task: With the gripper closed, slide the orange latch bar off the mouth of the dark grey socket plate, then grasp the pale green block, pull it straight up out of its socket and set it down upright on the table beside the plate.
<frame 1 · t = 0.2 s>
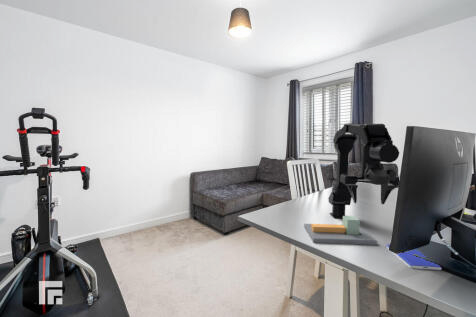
hand: (368, 203, 77), 14 cm above the table, tool pointing down, fingers open, 9 cm apart
socket plate: (337, 235, 84), on the table
hard drive: (410, 259, 68), on the table
latch bar: (328, 228, 84), point 3 cm above the table, slide at 0.0 cm
pale green block: (350, 235, 84), resting in socket plate
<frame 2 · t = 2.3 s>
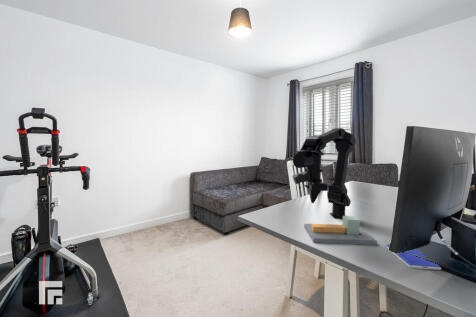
hand: (312, 202, 92), 10 cm above the table, tool pointing down, fingers closed
nothing on the table moved.
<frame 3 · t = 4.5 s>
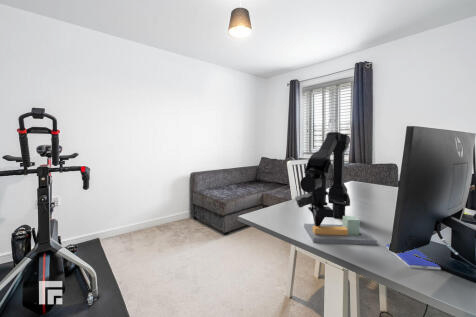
hand: (316, 227, 84), 3 cm above the table, tool pointing down, fingers closed
latch bar: (329, 230, 82), point 3 cm above the table, slide at 2.1 cm, touching gripper
everything else where it was.
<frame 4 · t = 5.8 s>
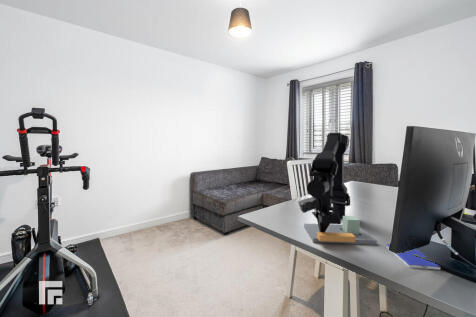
hand: (321, 233, 79), 3 cm above the table, tool pointing down, fingers closed
latch bar: (335, 237, 76), point 3 cm above the table, slide at 7.8 cm, touching gripper
everything else where it was.
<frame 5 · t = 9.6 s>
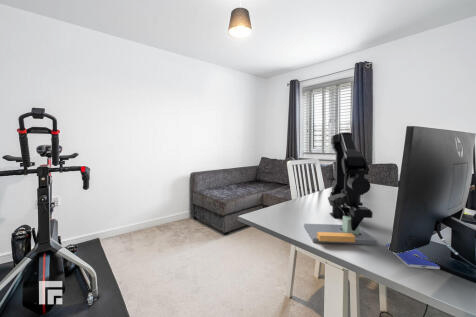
hand: (350, 227, 83), 3 cm above the table, tool pointing down, fingers closed on pale green block, 4 cm apart
latch bar: (335, 237, 76), point 3 cm above the table, slide at 7.8 cm
pale green block: (350, 235, 84), resting in socket plate, touching gripper
everything else where it was.
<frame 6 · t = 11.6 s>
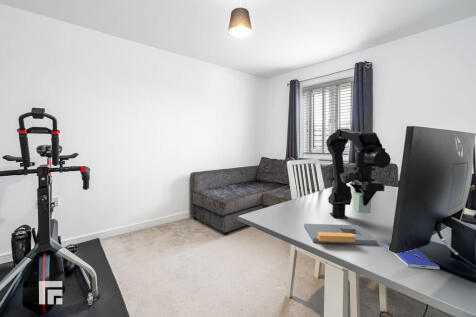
hand: (362, 203, 85), 12 cm above the table, tool pointing down, fingers closed on pale green block, 4 cm apart
pale green block: (361, 211, 86), point 9 cm above the table, touching gripper
everything else where it was.
when the fingers open (4 cm above the table, at t = 13.7 s): pale green block drops 2 cm, on the table.
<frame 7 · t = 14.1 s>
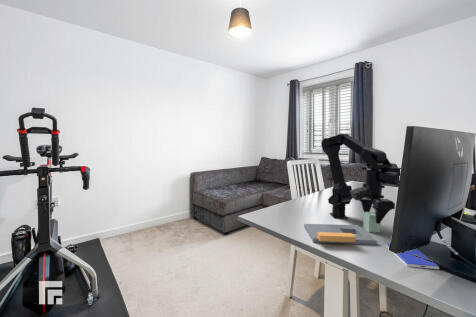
hand: (371, 219, 89), 4 cm above the table, tool pointing down, fingers open, 8 cm apart
pale green block: (371, 230, 89), on the table
everything else where it was.
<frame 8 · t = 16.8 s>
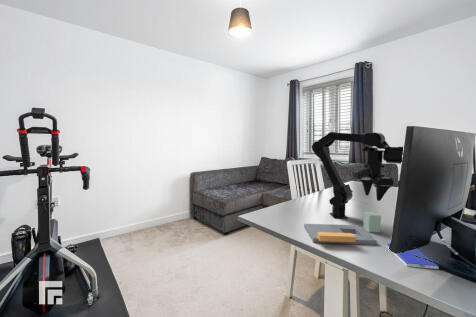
hand: (372, 197, 94), 12 cm above the table, tool pointing down, fingers open, 9 cm apart
nothing on the table moved.
at the end: latch bar slide at 7.8 cm; pale green block inside the target area (0.0 cm from its centre), on the table; pale green block tilted 0° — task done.
